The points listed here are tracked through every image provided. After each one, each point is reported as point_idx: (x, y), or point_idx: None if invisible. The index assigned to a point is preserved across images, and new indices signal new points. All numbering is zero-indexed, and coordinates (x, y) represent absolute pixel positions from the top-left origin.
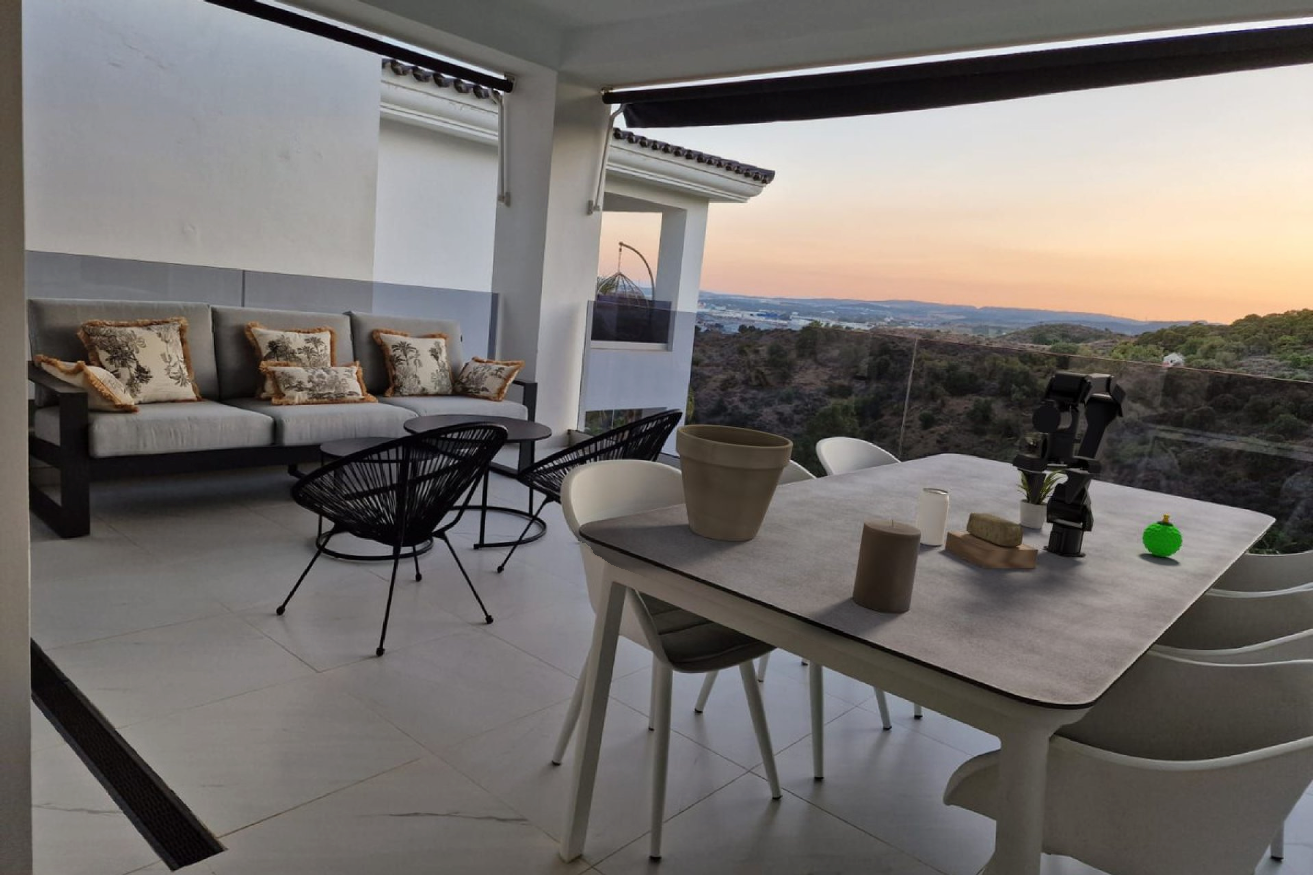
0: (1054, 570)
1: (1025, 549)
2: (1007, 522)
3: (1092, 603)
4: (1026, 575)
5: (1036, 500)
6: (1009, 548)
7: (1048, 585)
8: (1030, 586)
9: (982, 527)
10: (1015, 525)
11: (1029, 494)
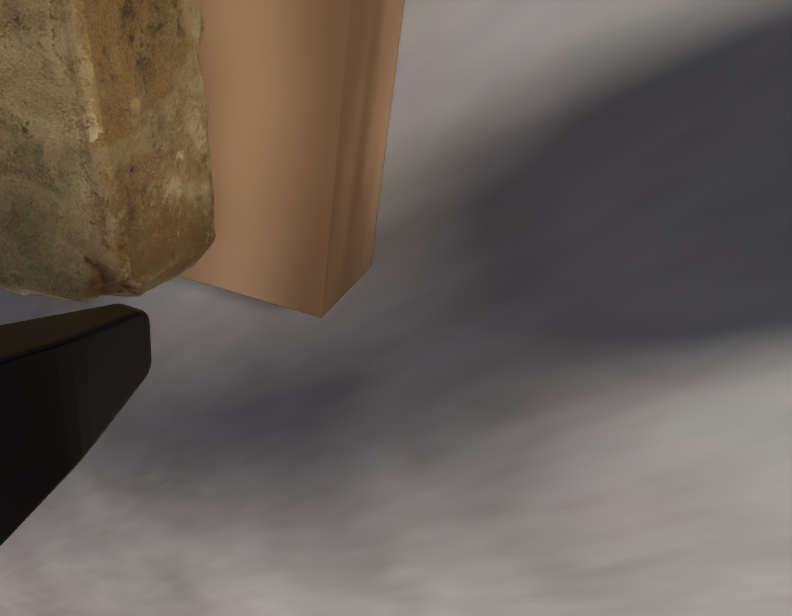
0: (459, 336)
1: (222, 285)
2: (14, 194)
3: (229, 604)
4: (209, 329)
5: (113, 404)
6: None
7: (210, 446)
8: (119, 420)
9: None
10: (37, 281)
11: (6, 326)
